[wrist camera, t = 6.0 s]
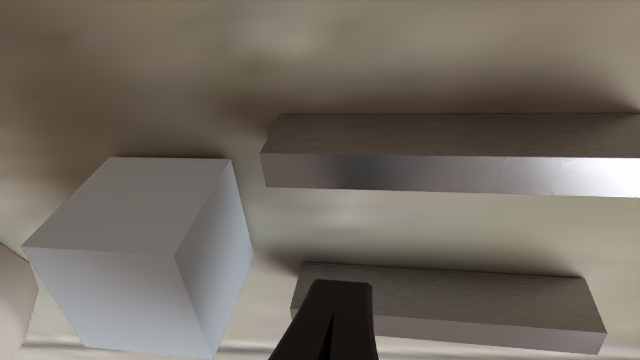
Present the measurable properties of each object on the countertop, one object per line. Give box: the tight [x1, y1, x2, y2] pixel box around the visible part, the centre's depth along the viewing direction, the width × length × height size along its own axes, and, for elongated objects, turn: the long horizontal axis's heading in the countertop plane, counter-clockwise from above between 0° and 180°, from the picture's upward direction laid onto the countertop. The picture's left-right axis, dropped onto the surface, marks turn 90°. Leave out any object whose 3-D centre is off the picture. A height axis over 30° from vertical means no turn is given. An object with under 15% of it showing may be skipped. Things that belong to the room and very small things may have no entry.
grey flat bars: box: [260, 114, 640, 355], centre depth 13 cm, size 9×7×2 cm
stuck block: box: [20, 157, 254, 360], centre depth 13 cm, size 4×4×4 cm
